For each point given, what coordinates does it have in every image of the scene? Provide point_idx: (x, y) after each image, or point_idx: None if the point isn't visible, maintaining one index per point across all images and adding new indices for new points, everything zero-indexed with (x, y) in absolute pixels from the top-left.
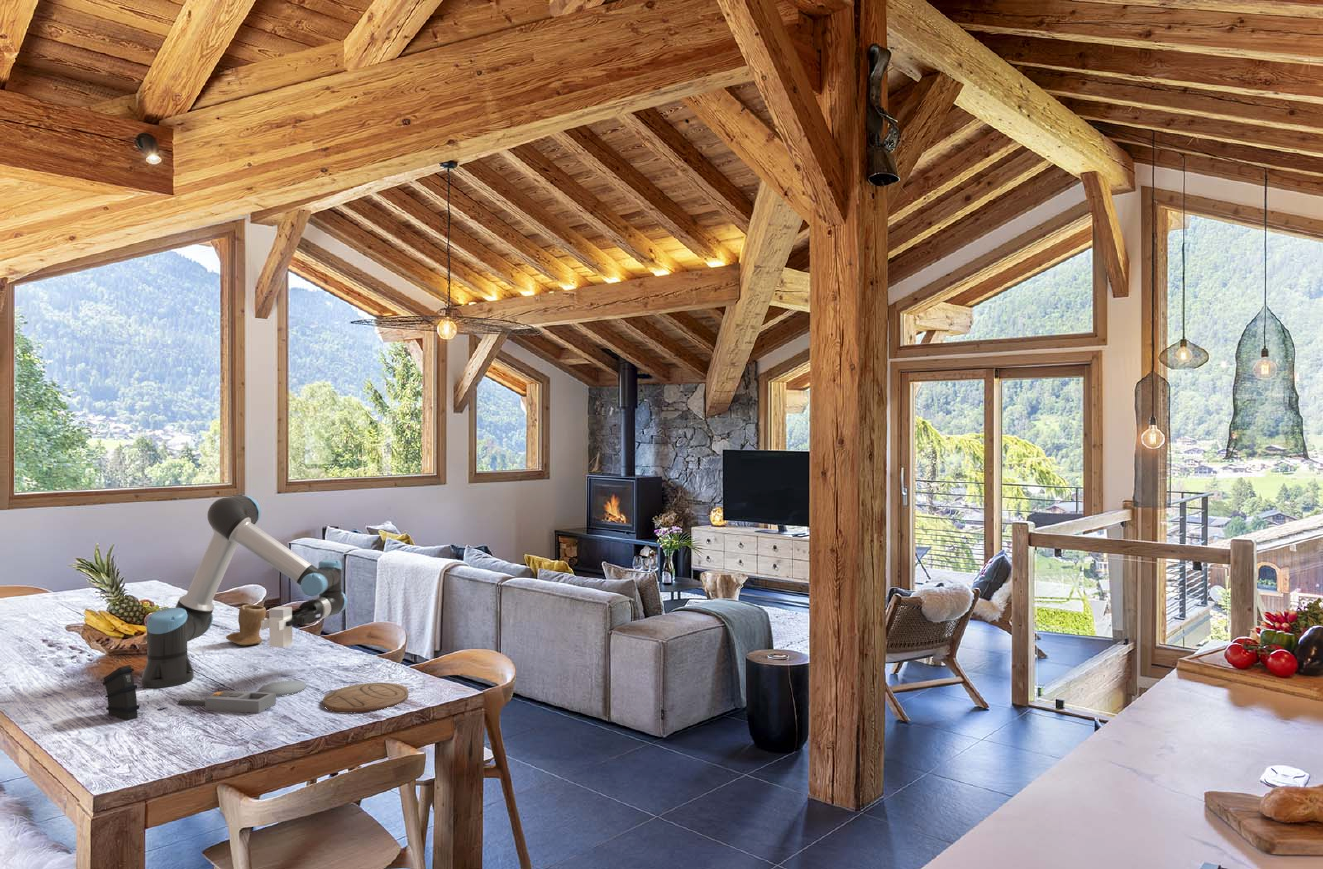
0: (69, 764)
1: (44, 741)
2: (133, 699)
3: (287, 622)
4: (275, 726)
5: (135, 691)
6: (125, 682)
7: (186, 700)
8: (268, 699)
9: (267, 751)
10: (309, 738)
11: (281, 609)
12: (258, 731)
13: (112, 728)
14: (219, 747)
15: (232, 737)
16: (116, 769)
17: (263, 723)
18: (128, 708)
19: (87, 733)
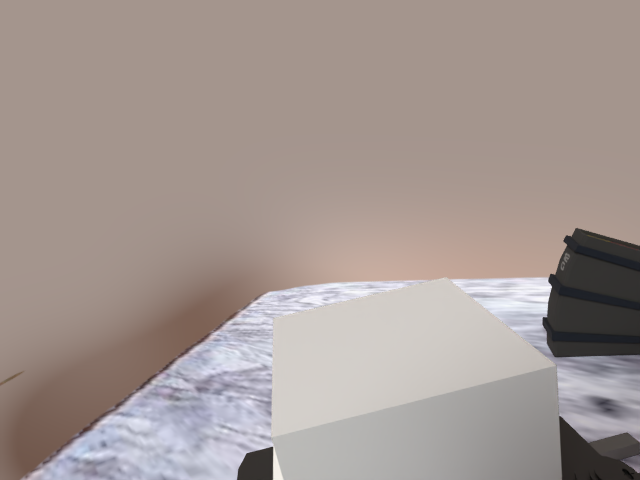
0: (389, 282)
1: (525, 279)
2: (552, 312)
3: (263, 456)
4: (182, 454)
5: (558, 299)
6: (559, 266)
7: (602, 442)
8: None
9: (143, 384)
10: (76, 443)
11: (306, 318)
12: (207, 422)
13: (510, 324)
14: (236, 363)
15: (243, 388)
16: (318, 297)
17: (224, 454)
18: (544, 321)
19: (515, 305)
